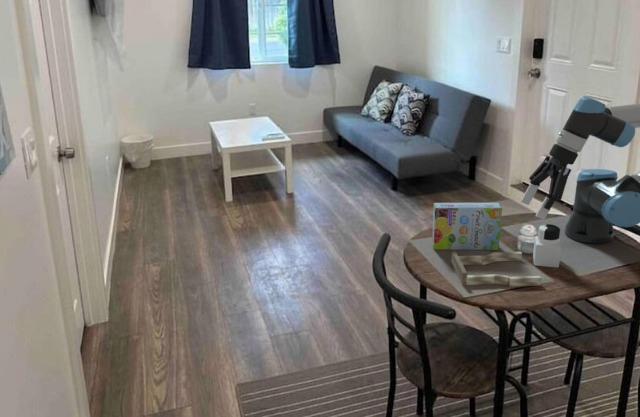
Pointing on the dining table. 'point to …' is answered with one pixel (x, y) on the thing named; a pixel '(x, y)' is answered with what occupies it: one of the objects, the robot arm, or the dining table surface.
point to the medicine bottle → (547, 246)
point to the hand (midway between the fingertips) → (531, 210)
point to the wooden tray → (495, 278)
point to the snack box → (466, 226)
